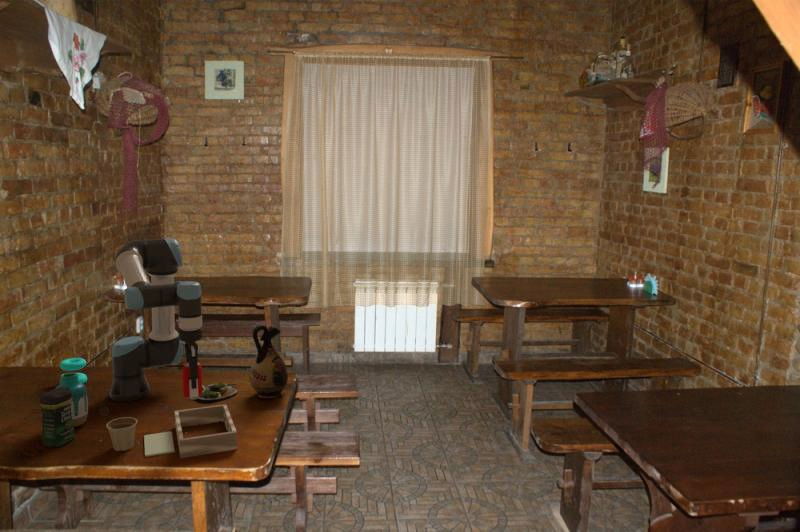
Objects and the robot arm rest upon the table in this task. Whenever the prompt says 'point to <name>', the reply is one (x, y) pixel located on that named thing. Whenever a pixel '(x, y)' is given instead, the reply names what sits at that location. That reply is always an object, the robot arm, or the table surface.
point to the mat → (158, 444)
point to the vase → (76, 397)
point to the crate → (207, 442)
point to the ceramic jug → (267, 365)
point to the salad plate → (216, 392)
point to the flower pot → (122, 432)
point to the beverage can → (186, 382)
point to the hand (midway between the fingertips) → (193, 393)
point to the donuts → (75, 367)
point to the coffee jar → (57, 417)
